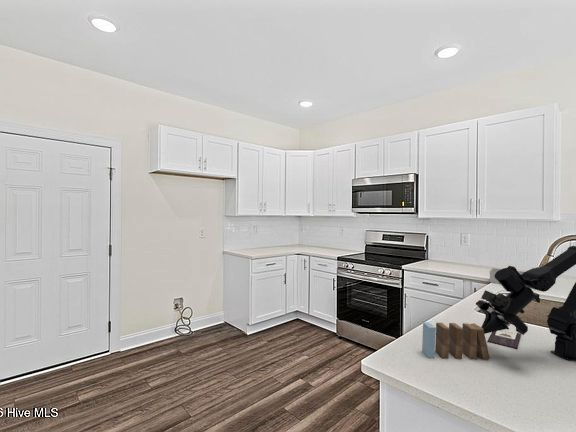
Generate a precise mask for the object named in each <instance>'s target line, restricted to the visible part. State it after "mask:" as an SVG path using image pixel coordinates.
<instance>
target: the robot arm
mask: <svg viewBox="0 0 576 432" xmlns="http://www.w3.org/2000/svg"><path fill="white" fill-rule="evenodd" d="M574 266H576V245H572V246H571V245H570V246H568V247H567V249H566V250H564V251H563V252H561V253H560V254H558V255H557V256H556V257H554V258H553V259H551V260H550V261H548V262H547V263H546V264H544V265H542V266H538V267H533V268H530V269H529V270H526V271H523V272H524V273H523V274H519V272H518V271H519V270H517V268H516V267H515V266H512V265H508V266H507V267H504V268H500V269H501V270H499V271H497V272H496V273H495V276H494V277H495V279H496V280H497V281H498V282H499V283H500V284H499V285H500V286H501V287H502V288H503V289H504V290H505V291H507V292H509V293H508V294H507V295H504V294H502V293H497V294H496V293H494V292H492V291H488V290H484V291H483V294H482V295H481V297H480V299H478V301H476V302H475V306H477V308H478V309H479V310H480V311H481V312H482V313H483V314H484V315H485V318H484V320H483V323H482V325H481V326H480V327H481V328H483V330H484V334H485V335H486V334H489V333H490V334H491V333H492V332H494V331H499V330H510V328H509V327H510V326H511V325H512V326H514V327H515V332H516V333H520V334H521V336H524V335H525V334H526V333H527V332H529V331H528V330H529V326H528V325H527V324H526V323H525V322H524V321H523V320H522V319H521V318H520V316H518V314H519V313H520V314H524V313H525V310H524V309H525V308H526V307H527V306H528V305H529V304H530V303H531V302H535V303H539V304H541V299H540V293H537V292H534V290H535V291H539V292H542V293H543V292H544V293H545V292H547V291H550V289H551V288H552V287H553V286H554V285H555V284H556V282H557V281H556V280H557V278H558V277H559V276H561V275H563V274H564V273H565V272H567V271H569V270H570V269H572V268H573V267H574ZM546 317H547V320H546V323H547V327H548V330H549V333H550V334H551V335H555V341H554V349H553V350H550V353H551V354H554V355H556V356H558V357H560V358H563V359H564V360H567V361H571V362H572V361H576V281H575V282H574V285H572V288H571V290H570V291H569V294H568V296H567V297H566V299H565V301H564V303H563V304H562V306H559V307H556V306H553V307H552V308H551V309H550V312H549V314H548V315H546Z"/></svg>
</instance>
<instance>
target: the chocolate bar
mask: <svg viewBox="0 0 576 432" xmlns="http://www.w3.org/2000/svg"><path fill="white" fill-rule="evenodd" d="M521 336H522V334H520V333H518V332H516V331H515V332H514V331H510V330H507V329H504V330H499V331H494V332H490V334H489V337H488V338H487V340H486V343H490V344H494V345H497V346H501V347H506V348H509V349H514V350H518V349H519V345H520V340H521Z"/></svg>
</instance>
